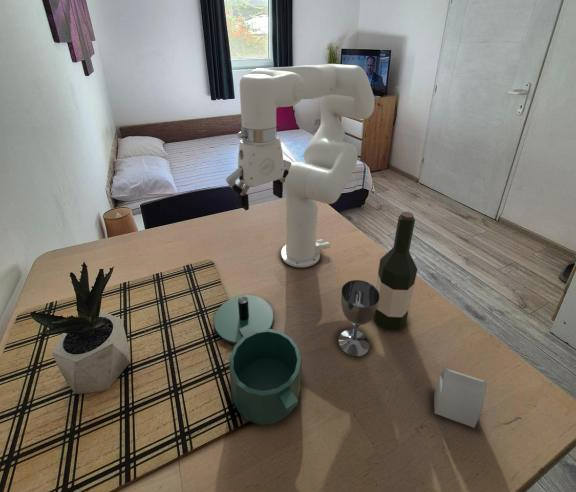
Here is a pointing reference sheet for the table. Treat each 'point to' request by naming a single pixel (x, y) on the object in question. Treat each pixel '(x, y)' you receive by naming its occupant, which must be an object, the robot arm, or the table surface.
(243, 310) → the lid
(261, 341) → the pot
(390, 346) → the table surface
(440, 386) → the white box
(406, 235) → the wine bottle
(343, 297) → the wine glass
